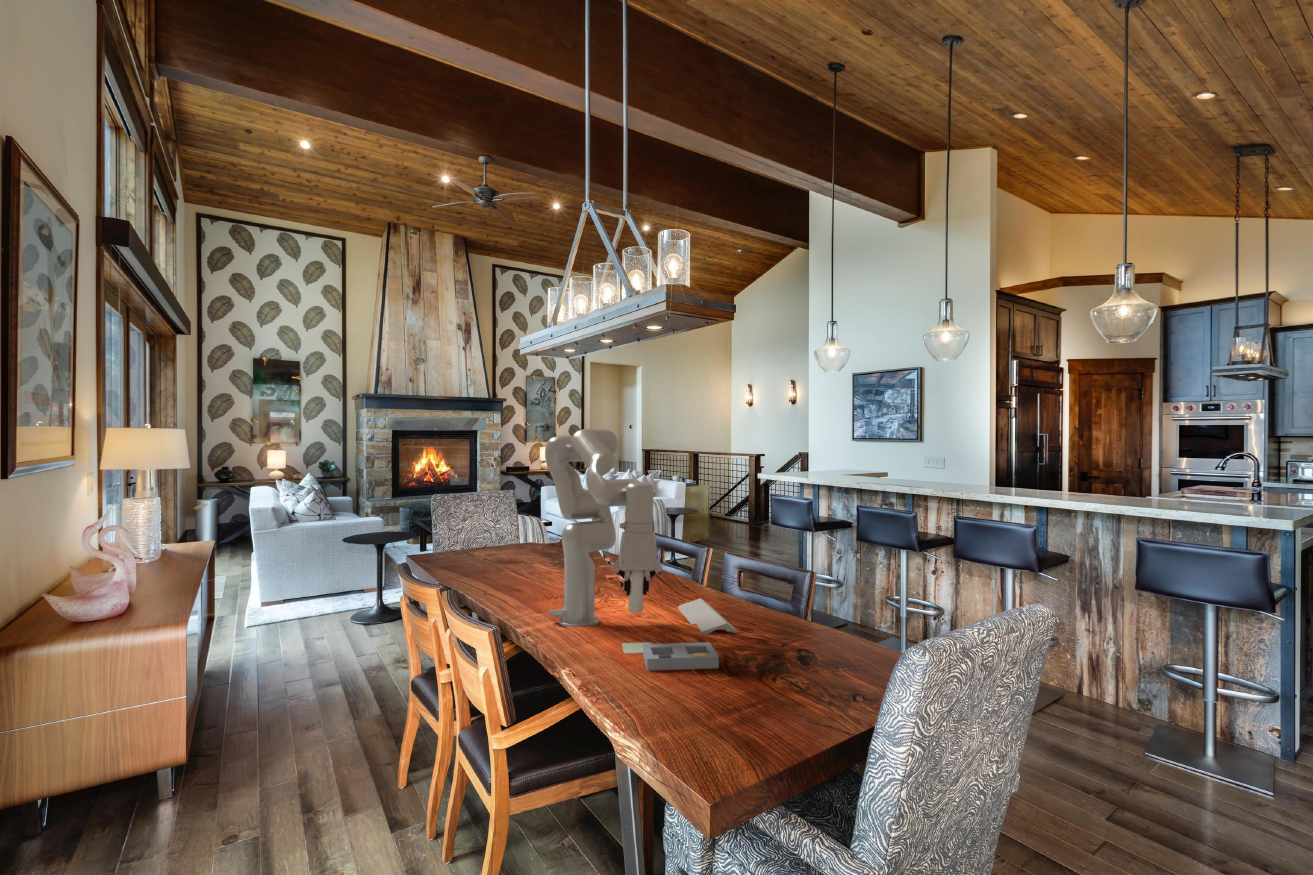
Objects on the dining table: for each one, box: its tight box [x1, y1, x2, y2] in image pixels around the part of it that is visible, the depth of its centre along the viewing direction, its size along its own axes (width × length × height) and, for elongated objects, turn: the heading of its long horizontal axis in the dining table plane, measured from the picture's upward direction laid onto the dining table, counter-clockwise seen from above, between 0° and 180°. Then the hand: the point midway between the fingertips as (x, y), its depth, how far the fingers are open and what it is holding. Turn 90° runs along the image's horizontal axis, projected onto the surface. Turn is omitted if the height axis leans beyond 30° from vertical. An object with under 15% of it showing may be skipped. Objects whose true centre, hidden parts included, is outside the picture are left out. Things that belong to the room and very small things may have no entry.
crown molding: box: [677, 598, 739, 635], centre depth 202 cm, size 29×12×4 cm, turn 12°
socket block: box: [642, 641, 720, 671], centre depth 161 cm, size 18×11×4 cm, turn 97°
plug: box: [627, 571, 645, 613], centre depth 171 cm, size 4×4×13 cm
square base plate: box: [621, 642, 652, 654], centre depth 171 cm, size 8×8×1 cm
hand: (636, 593), depth 171 cm, fingers closed on plug, 4 cm apart
